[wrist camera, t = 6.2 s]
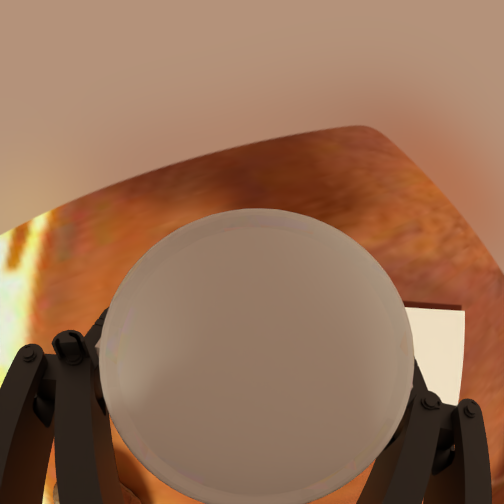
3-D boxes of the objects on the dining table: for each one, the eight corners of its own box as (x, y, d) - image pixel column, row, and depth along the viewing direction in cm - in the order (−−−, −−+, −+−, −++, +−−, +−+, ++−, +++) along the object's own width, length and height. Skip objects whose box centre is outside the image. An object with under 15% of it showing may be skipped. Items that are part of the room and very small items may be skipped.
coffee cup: (164, 312, 19) (62, 261, 7) (292, 266, 20) (343, 163, 9) (212, 439, 16) (166, 541, 5) (343, 389, 17) (453, 429, 6)
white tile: (345, 437, 20) (347, 438, 19) (361, 304, 24) (363, 303, 23) (450, 425, 19) (453, 426, 19) (461, 311, 23) (464, 310, 23)
